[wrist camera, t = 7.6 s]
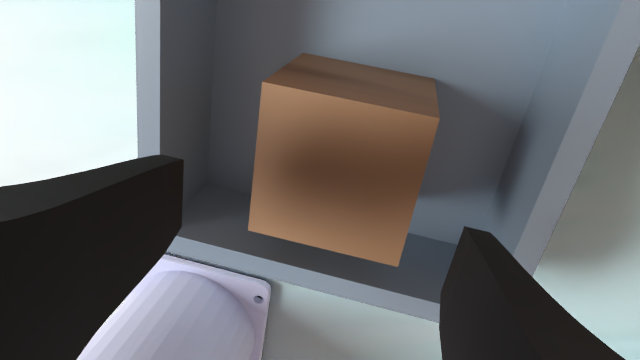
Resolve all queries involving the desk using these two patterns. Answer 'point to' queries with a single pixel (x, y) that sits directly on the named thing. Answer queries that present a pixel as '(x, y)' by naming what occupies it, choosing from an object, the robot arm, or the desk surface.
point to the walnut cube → (342, 155)
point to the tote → (449, 142)
